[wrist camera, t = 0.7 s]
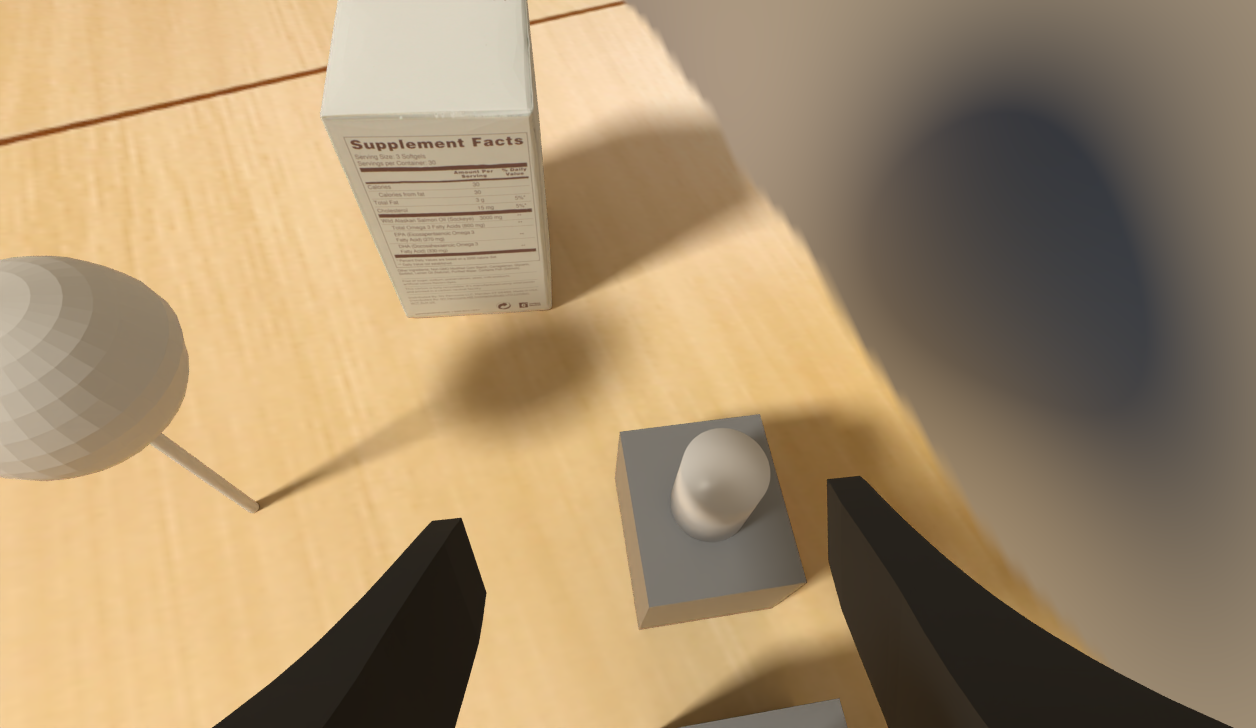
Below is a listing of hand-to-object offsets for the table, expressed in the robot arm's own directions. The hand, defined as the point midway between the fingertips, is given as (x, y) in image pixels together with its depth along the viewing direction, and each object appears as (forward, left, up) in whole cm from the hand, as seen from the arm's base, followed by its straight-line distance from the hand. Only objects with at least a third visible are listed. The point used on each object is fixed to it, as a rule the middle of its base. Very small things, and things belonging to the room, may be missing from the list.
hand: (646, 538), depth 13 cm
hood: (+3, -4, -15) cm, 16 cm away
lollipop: (+7, +14, -15) cm, 22 cm away
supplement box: (+19, +4, -15) cm, 25 cm away
